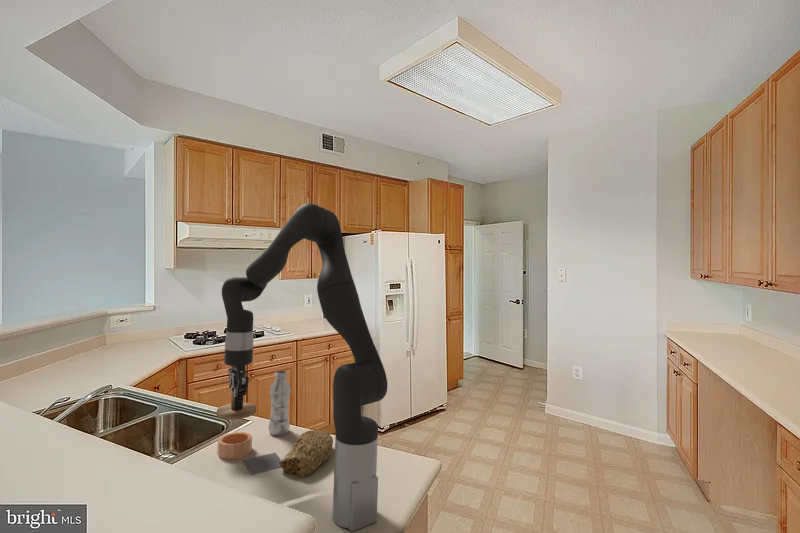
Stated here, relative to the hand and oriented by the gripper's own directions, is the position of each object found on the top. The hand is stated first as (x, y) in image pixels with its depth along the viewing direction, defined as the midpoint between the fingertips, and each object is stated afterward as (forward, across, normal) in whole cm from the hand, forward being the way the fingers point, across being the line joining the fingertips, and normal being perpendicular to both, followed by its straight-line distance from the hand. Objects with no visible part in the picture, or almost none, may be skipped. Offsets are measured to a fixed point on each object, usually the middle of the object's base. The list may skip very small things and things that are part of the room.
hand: (236, 407), depth 112 cm
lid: (+2, 0, 0) cm, 2 cm away
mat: (+13, -11, -5) cm, 18 cm away
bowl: (+13, 0, 0) cm, 13 cm away
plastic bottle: (+14, +7, -15) cm, 21 cm away
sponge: (+14, -15, -16) cm, 26 cm away
